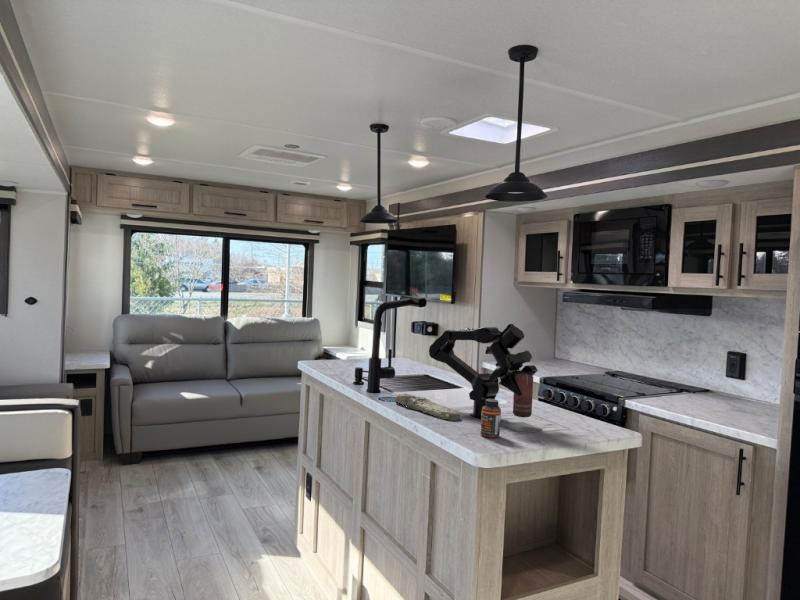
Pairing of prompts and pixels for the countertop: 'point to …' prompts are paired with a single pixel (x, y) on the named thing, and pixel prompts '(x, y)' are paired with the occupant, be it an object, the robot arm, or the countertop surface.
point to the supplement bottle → (490, 419)
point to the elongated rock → (427, 406)
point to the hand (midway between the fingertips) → (526, 394)
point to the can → (523, 395)
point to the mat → (520, 426)
